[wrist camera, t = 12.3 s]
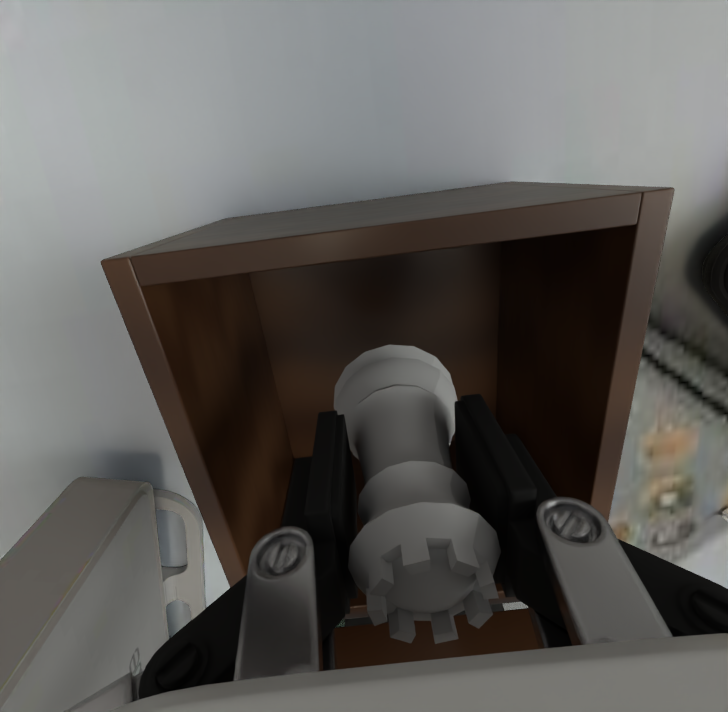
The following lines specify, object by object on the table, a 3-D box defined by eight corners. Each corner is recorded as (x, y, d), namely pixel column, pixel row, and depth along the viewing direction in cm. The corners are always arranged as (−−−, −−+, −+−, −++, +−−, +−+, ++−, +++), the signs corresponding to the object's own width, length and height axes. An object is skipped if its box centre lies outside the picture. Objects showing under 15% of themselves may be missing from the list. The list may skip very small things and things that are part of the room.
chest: (224, 218, 20) (98, 260, 10) (513, 181, 19) (676, 187, 10) (286, 460, 26) (246, 629, 17) (503, 436, 26) (593, 595, 16)
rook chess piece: (385, 314, 13) (424, 476, 6) (476, 384, 15) (598, 588, 7) (309, 402, 15) (269, 621, 8) (399, 460, 16) (437, 694, 9)
